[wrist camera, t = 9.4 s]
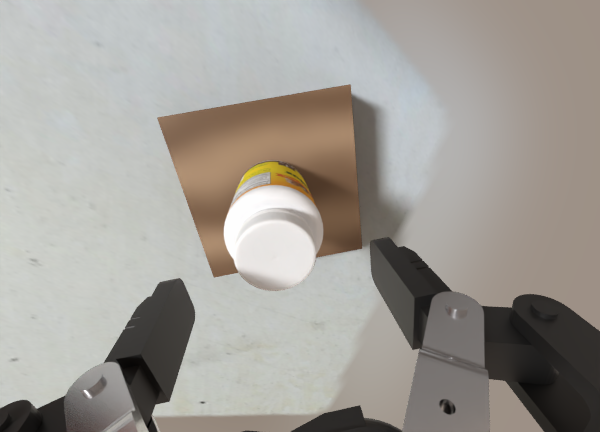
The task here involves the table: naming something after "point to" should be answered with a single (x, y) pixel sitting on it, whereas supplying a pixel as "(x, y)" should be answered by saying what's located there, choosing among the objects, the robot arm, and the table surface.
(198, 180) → the walnut plinth
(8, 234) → the table surface
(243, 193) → the supplement bottle
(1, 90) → the table surface
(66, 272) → the table surface
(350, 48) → the table surface
